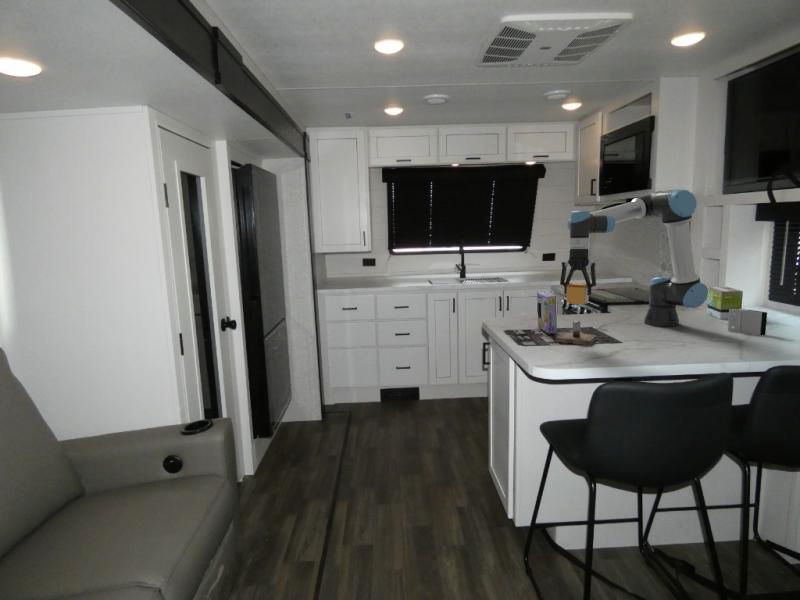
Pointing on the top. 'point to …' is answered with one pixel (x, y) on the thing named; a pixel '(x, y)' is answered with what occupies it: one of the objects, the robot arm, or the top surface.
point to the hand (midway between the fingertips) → (577, 302)
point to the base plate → (576, 338)
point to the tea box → (723, 301)
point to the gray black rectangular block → (747, 321)
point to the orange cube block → (576, 293)
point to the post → (576, 328)
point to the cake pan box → (547, 312)
